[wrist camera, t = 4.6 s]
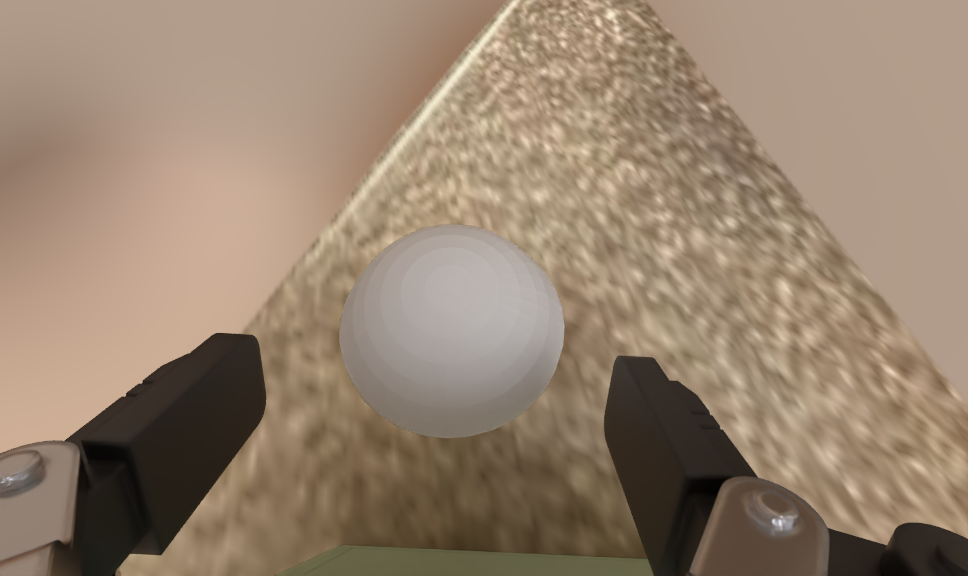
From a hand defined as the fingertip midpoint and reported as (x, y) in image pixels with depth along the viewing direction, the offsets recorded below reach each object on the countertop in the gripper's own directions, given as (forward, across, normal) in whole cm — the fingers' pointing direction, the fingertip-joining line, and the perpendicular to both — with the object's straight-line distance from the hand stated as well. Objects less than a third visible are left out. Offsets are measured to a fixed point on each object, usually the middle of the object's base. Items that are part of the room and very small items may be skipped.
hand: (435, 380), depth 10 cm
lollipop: (+11, 0, +9) cm, 14 cm away
